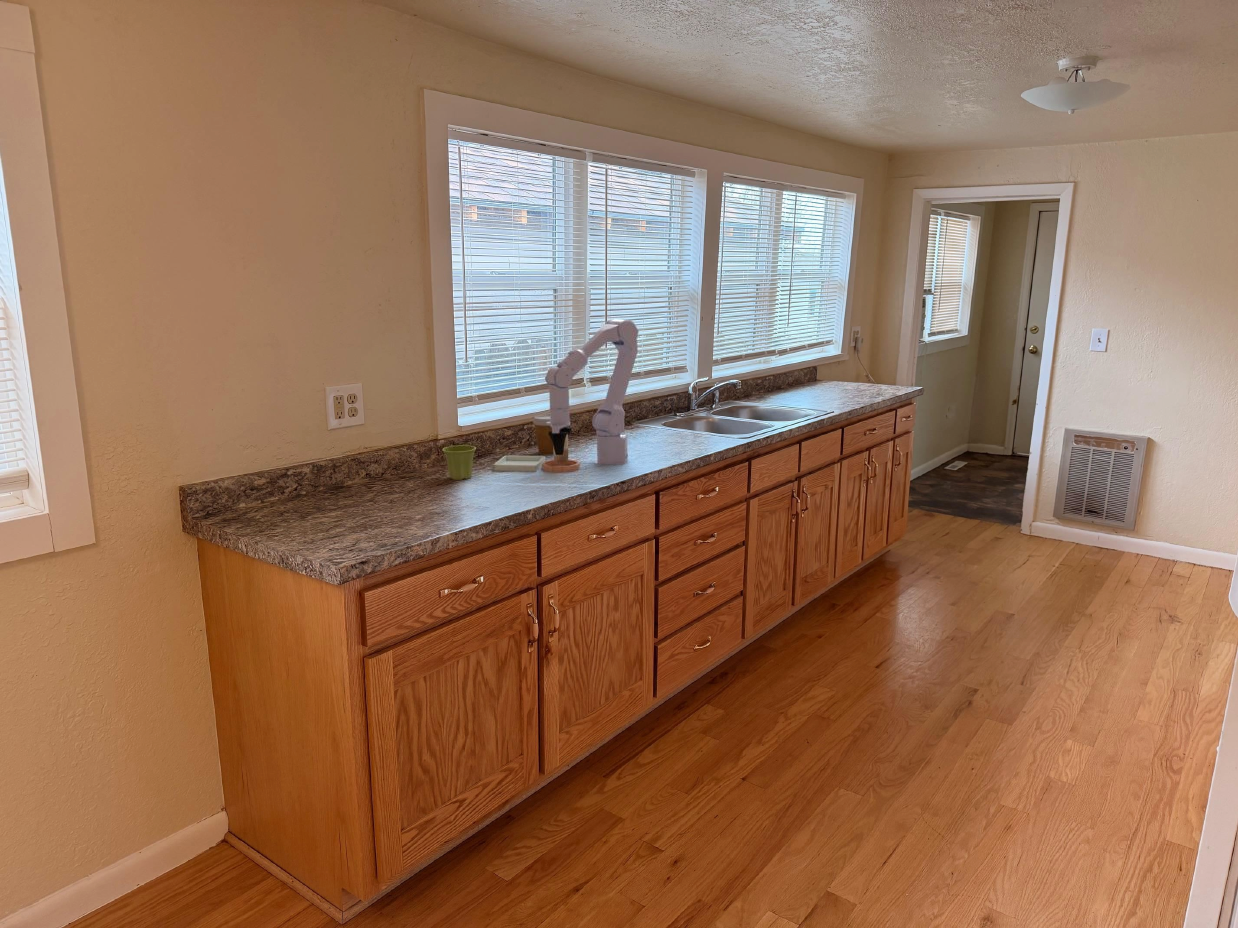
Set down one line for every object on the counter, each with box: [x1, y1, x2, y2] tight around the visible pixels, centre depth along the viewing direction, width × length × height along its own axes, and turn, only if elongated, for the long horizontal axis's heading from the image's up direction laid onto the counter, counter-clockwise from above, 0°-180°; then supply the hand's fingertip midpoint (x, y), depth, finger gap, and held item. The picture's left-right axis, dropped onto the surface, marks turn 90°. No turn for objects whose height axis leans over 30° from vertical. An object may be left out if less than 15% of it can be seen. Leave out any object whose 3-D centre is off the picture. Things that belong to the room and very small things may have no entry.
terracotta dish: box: [541, 458, 581, 473], centre depth 256 cm, size 11×11×2 cm
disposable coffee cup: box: [532, 414, 554, 456], centre depth 280 cm, size 10×10×12 cm
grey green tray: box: [492, 455, 547, 472], centre depth 259 cm, size 13×14×2 cm
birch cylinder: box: [553, 434, 569, 463], centre depth 255 cm, size 4×4×8 cm
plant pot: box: [442, 444, 477, 481], centre depth 246 cm, size 9×9×9 cm
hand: (560, 453), depth 255 cm, fingers closed on birch cylinder, 4 cm apart
